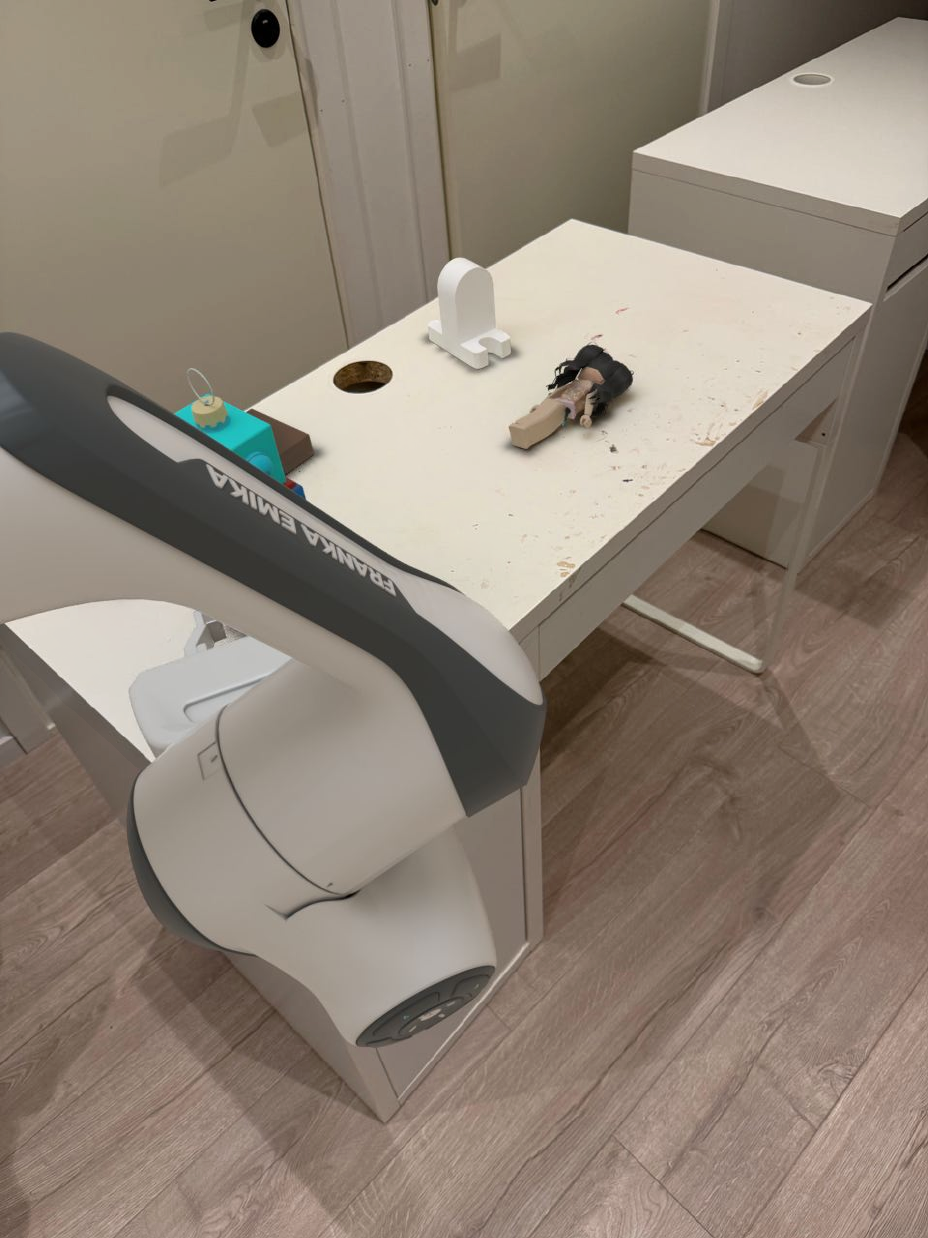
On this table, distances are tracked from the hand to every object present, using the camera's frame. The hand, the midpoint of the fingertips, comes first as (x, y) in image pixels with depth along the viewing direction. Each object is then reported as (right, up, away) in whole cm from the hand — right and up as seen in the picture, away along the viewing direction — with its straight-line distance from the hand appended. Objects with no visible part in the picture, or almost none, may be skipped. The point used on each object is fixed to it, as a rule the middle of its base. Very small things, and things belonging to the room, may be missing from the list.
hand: (276, 591), depth 59 cm
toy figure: (+24, +19, +34) cm, 46 cm away
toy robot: (-2, -3, +17) cm, 17 cm away
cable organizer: (+13, +30, +46) cm, 56 cm away
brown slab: (-14, +10, +30) cm, 34 cm away
